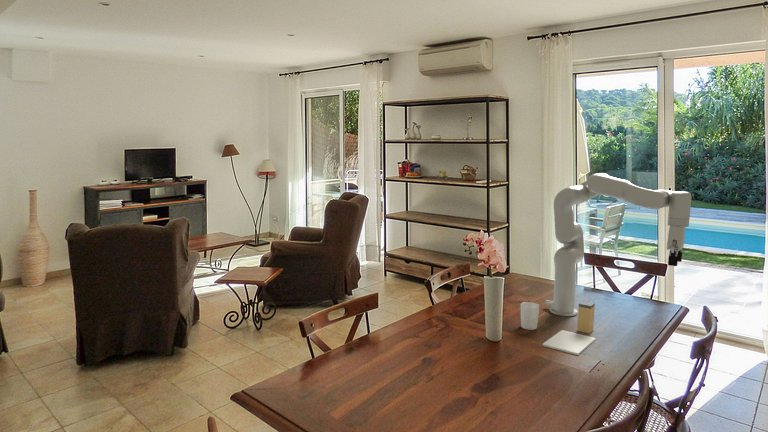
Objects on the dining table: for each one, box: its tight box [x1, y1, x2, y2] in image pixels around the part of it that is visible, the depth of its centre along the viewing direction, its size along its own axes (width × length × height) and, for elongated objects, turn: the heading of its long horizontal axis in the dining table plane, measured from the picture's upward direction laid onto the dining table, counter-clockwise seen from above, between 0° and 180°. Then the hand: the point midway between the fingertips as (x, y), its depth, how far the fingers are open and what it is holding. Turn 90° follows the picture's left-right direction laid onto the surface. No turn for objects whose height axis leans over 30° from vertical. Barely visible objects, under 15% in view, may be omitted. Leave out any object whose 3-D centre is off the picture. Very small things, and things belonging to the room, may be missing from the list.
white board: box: [542, 329, 597, 356], centre depth 206 cm, size 14×20×1 cm
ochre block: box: [576, 300, 596, 334], centre depth 218 cm, size 5×5×12 cm
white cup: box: [520, 301, 540, 331], centre depth 222 cm, size 8×8×10 cm
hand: (674, 263), depth 209 cm, fingers open, 9 cm apart
